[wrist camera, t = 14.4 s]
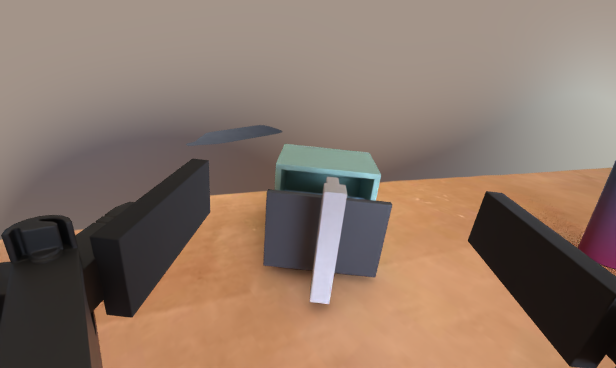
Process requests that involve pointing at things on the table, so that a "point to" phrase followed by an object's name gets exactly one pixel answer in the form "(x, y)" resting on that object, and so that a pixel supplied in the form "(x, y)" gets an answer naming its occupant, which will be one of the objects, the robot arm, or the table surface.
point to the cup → (602, 226)
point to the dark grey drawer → (324, 234)
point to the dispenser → (326, 170)
